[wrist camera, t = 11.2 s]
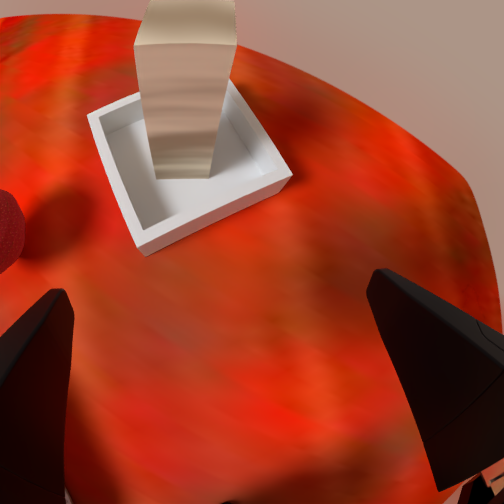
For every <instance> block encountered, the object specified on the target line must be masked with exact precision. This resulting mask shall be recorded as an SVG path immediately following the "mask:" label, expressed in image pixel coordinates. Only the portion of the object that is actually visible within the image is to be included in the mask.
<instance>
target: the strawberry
mask: <svg viewBox="0 0 504 504" xmlns="http://www.w3.org/2000/svg"><path fill="white" fill-rule="evenodd" d="M24 243H25V218H24V215H23V213H22V211H21V209H20V207H19V205H18V203H17V201H16V199H15V198H14V197H13V195H12V194H10V193H9V192H7V191H4V190H1V189H0V274H1V273H2V272H4V271H5V270H6V269H7V268H8V267H10V266H11V265H12V264H13V263H14V262H15V261H16V260H17V259H18V257H19V256H20V254H21V253H22V250H23V247H24Z"/></svg>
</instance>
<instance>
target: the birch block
mask: <svg viewBox="0 0 504 504" xmlns="http://www.w3.org/2000/svg"><path fill="white" fill-rule="evenodd" d="M236 47H237V37H236V21H235V4H234V1H229V0H150V2H149V5H148V7H147V10H146V12H145V15H144V18H143V20H142V23H141V26H140V28H139V31H138V34H137V37H136V40H135V43H134V53H135V62H136V69H137V77H138V84H139V90H140V97H141V103H142V109H143V115H144V121H145V126H146V132H147V137H148V142H149V147H150V152H151V157H152V162H153V167H154V172H155V176H156V180H158V179H209V174H210V168H211V163H212V157H213V152H214V147H215V142H216V136H217V131H218V127H219V122H220V117H221V112H222V107H223V103H224V98H225V94H226V89H227V85H228V81H229V76H230V72H231V68H232V64H233V59H234V55H235V51H236Z"/></svg>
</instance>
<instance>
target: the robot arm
mask: <svg viewBox="0 0 504 504" xmlns="http://www.w3.org/2000/svg"><path fill="white" fill-rule="evenodd" d="M366 295H367V299H368V301H369V304H370V307H371V310H372V313H373V315H374V318H375V321H376V324H377V327H378V330H379V333H380V335H381V338H382V340H383V343H384V345H385V347H386V349H387V352H388V354H389V356H390V359H391V361H392V363H393V366H394V368H395V370H396V373H397V375H398V378H399V380H400V383H401V385H402V387H403V390H404V393H405V395H406V398H407V400H408V403H409V405H410V408H411V411H412V413H413V416H414V419H415V421H416V424H417V427H418V430H419V433H420V435H421V438H422V441H423V445H424V448H425V451H426V454H427V457H428V460H429V463H430V466H431V470H432V473H433V476H434V480H435V483H436V487H437V490H438V492H441V491H443V490H445V489H447V488H450V487H452V486H454V485H456V484H458V483H460V482H462V481H464V480H466V479H468V478H470V477H472V476H474V475H476V474H477V475H476V476H474V477H473V478H472V479H471V480H469V481H468V482H467V483H466V484H465V485H463V487H462V490H461V494H460V497H459V500H458V504H504V335H502V334H501V333H499V332H497V331H495V330H494V329H492V328H490V327H489V326H487V325H485V324H484V323H482V322H480V321H479V320H477V319H475V318H474V317H472V316H470V315H469V314H467V313H465V312H464V311H462V310H460V309H459V308H457V307H455V306H453V305H452V304H450V303H448V302H447V301H445V300H443V299H441V298H440V297H438V296H436V295H434V294H433V293H431V292H429V291H427V290H426V289H424V288H422V287H420V286H419V285H417V284H415V283H413V282H411V281H410V280H408V279H406V278H404V277H402V276H400V275H399V274H397V273H395V272H393V271H391V270H389V269H387V268H381V269H376V270H375V271H374V272H373V274H372V277H371V279H370V282H369V285H368V287H367V291H366ZM73 328H74V311H73V308H72V306H71V303H70V301H69V298H68V296H67V293H66V291H65V290H64V289H62V288H60V289H50V290H49V291H48V292H47V293H46V294H45V295H43V296H42V297H41V298H40V299H39V300H38V301H37V302H36V303H35V304H34V305H33V306H31V307H30V308H29V309H28V310H27V311H26V312H25V313H24V314H23V315H22V316H21V317H20V318H19V319H18V320H17V321H16V322H15V323H14V324H13V325H12V326H11V327H10V328H9V329H8V330H7V331H6V332H5V333H4V334H3V335H2V336H1V337H0V504H66V498H65V481H64V436H65V417H66V405H67V395H68V386H69V378H70V370H71V357H72V340H73ZM223 504H231V503H223Z"/></svg>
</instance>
